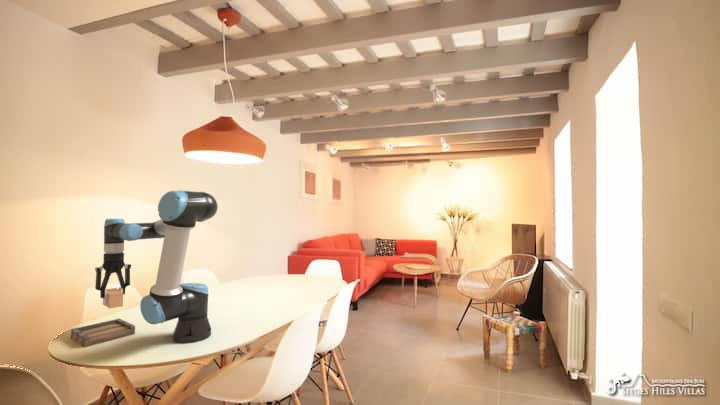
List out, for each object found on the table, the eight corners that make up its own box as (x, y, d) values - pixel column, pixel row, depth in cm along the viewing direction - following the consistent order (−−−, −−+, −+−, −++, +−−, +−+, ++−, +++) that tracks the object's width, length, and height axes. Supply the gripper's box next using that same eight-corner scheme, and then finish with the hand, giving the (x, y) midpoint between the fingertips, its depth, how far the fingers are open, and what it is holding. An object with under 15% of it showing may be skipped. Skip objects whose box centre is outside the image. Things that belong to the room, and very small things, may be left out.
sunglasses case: (122, 306, 152) (123, 292, 152) (109, 308, 148) (109, 294, 149) (115, 300, 161) (116, 287, 161) (102, 302, 157) (103, 289, 157)
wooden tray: (134, 334, 151) (135, 325, 151) (84, 347, 136) (85, 338, 136) (119, 326, 160) (119, 318, 160) (70, 338, 145) (71, 329, 145)
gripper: (133, 249, 165) (132, 298, 164) (86, 253, 150) (84, 306, 149) (139, 251, 160) (138, 300, 160) (92, 255, 145) (90, 309, 145)
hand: (112, 303), depth 155 cm, fingers closed on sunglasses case, 5 cm apart
